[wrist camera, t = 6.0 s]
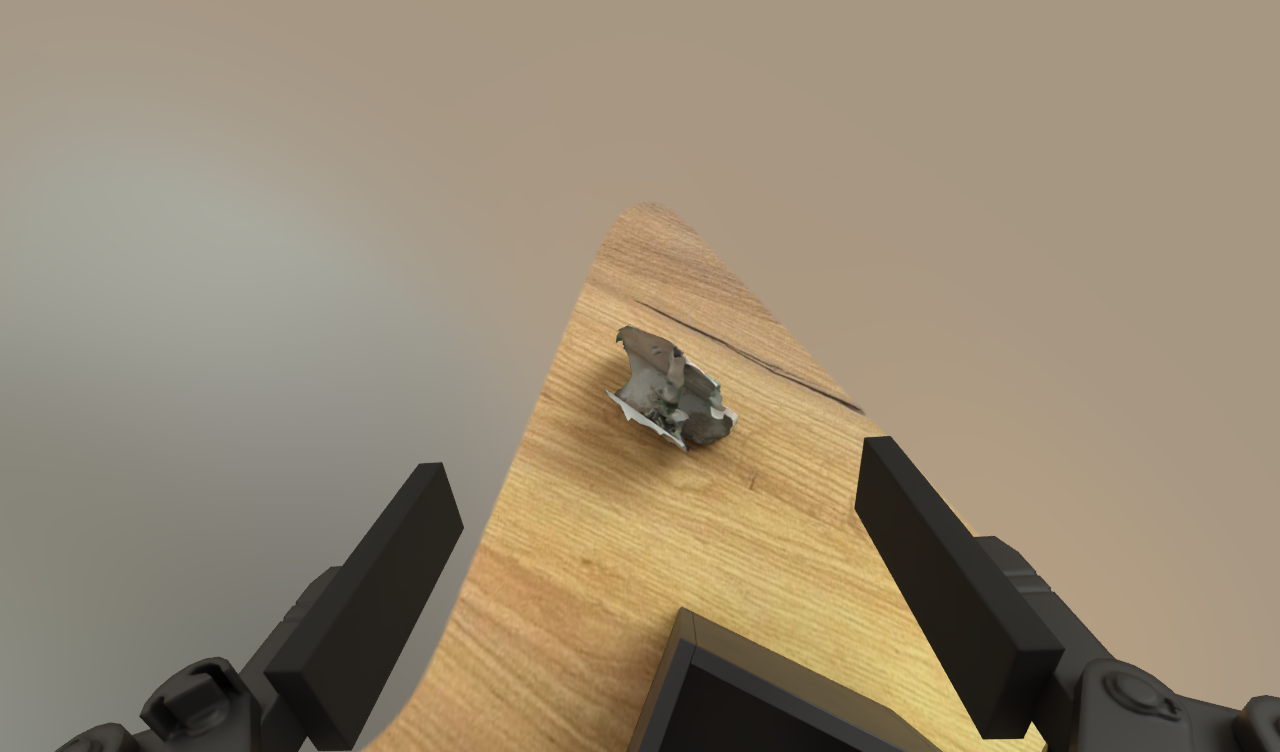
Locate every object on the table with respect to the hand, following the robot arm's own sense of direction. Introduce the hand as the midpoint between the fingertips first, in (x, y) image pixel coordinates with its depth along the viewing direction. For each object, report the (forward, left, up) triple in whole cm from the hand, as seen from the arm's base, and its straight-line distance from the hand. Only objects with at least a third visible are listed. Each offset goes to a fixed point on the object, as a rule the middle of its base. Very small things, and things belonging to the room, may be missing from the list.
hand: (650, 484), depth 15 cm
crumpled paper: (+2, -5, -11) cm, 12 cm away
